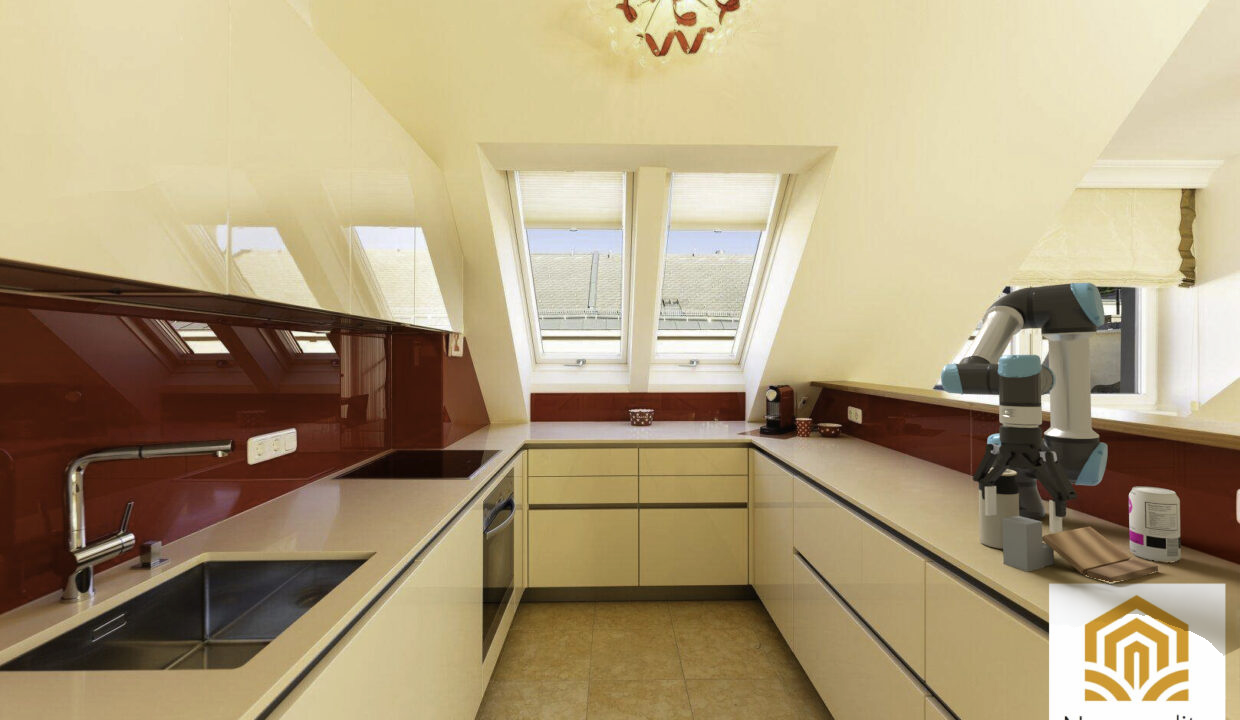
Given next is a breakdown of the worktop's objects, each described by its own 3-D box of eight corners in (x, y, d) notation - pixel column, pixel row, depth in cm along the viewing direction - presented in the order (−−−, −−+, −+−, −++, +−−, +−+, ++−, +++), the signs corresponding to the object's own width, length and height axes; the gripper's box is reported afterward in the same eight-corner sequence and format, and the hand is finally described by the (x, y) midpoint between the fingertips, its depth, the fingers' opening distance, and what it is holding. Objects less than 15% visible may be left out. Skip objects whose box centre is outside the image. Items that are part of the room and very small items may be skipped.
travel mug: (1026, 551, 128) (1025, 474, 128) (988, 549, 129) (987, 473, 129) (1009, 540, 136) (1008, 467, 136) (974, 538, 137) (972, 467, 137)
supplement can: (1122, 554, 125) (1121, 488, 125) (1141, 548, 128) (1140, 484, 128) (1169, 566, 117) (1167, 496, 117) (1188, 559, 121) (1187, 492, 121)
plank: (1086, 530, 127) (1089, 526, 126) (1128, 562, 119) (1132, 558, 118) (1040, 539, 121) (1043, 535, 120) (1082, 574, 113) (1085, 570, 113)
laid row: (1131, 564, 119) (1131, 557, 119) (1158, 571, 114) (1157, 565, 114) (1084, 576, 113) (1084, 569, 113) (1110, 584, 109) (1110, 577, 109)
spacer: (1032, 557, 124) (1031, 513, 124) (1056, 564, 119) (1055, 519, 119) (1003, 563, 121) (1002, 518, 121) (1027, 571, 116) (1026, 524, 116)
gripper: (954, 420, 130) (956, 510, 129) (1073, 432, 106) (1075, 542, 106) (977, 419, 132) (978, 507, 132) (1097, 430, 109) (1099, 537, 109)
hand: (1021, 523), depth 119 cm, fingers open, 13 cm apart
